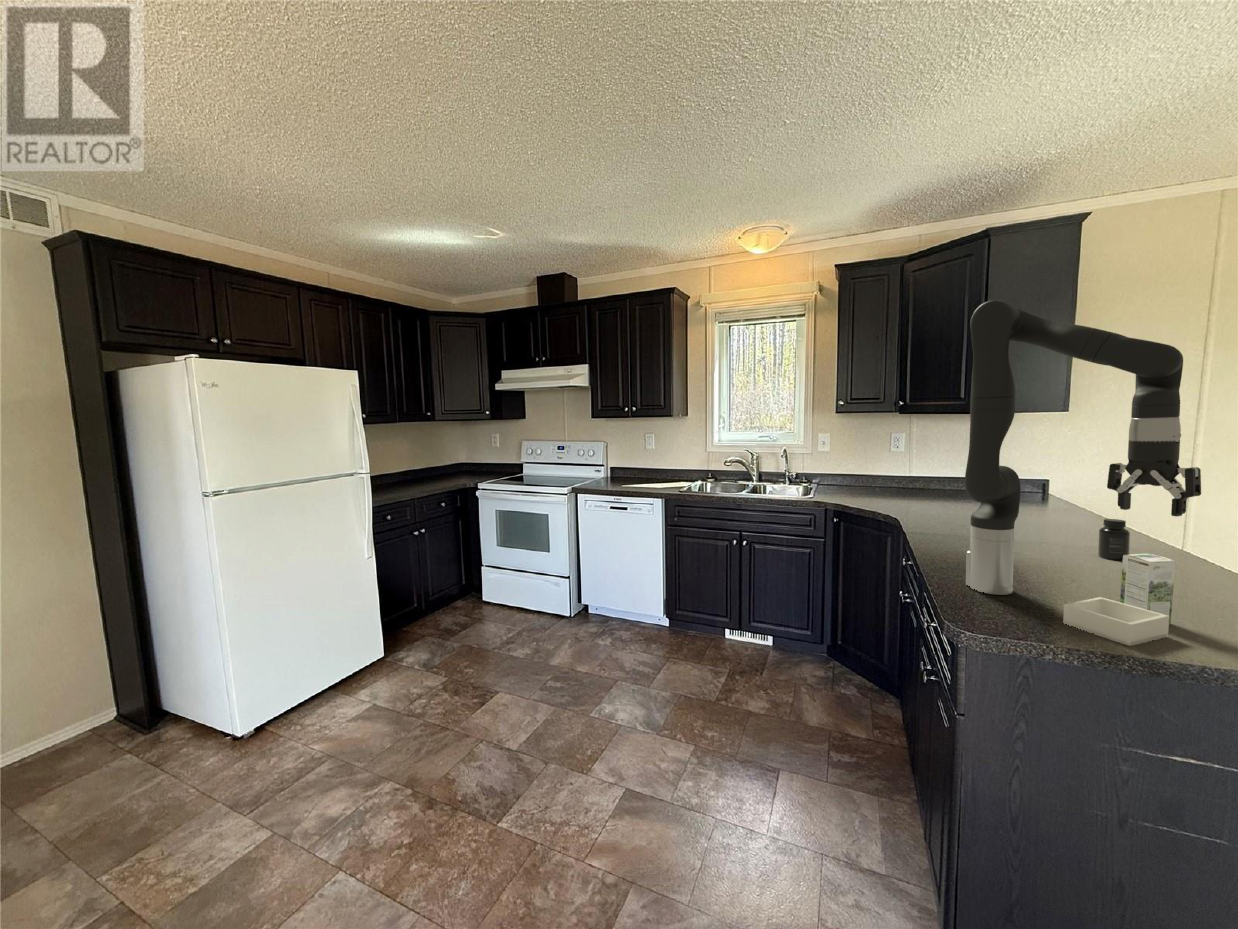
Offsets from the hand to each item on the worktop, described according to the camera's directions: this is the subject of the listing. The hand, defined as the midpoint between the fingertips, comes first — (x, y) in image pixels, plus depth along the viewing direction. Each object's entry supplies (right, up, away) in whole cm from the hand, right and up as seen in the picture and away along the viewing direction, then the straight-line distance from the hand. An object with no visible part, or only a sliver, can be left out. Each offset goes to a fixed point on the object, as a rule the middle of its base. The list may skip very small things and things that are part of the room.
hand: (1150, 512), depth 106 cm
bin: (-10, -25, -2) cm, 27 cm away
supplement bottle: (+39, -19, +46) cm, 63 cm away
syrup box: (+1, -24, +2) cm, 25 cm away
